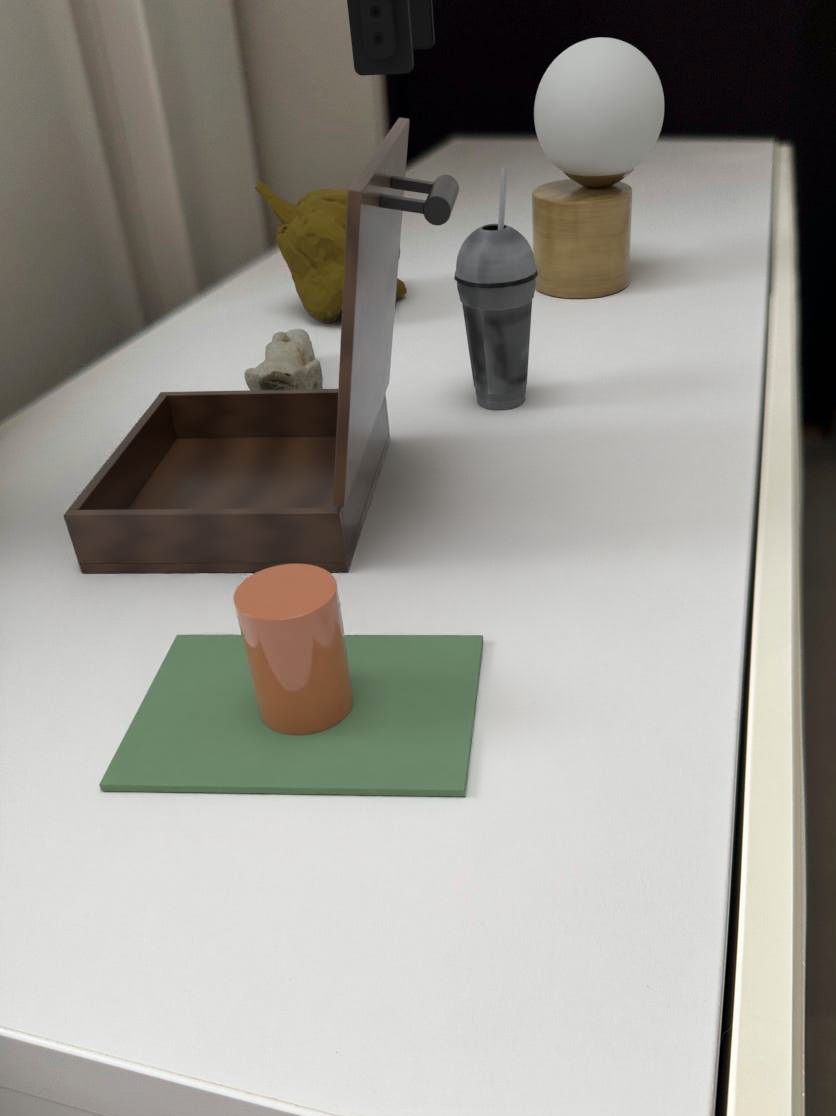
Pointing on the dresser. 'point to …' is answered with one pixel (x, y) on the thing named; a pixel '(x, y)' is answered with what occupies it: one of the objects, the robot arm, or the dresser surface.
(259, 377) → the sculpture
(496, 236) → the beverage cup
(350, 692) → the cylinder
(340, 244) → the olive lumpy blob
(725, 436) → the dresser surface
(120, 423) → the dresser surface
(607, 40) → the lamp
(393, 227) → the lid
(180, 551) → the chest
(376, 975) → the dresser surface
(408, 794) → the mat
